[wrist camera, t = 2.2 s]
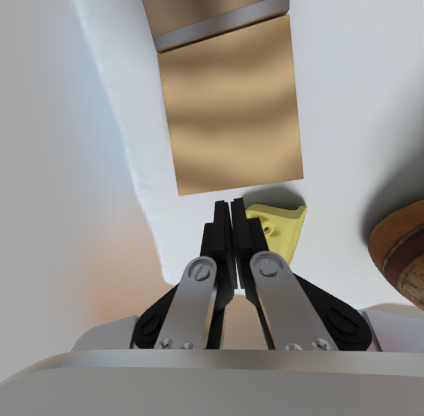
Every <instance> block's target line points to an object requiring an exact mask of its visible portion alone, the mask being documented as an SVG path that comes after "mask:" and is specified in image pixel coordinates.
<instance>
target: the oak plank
mask: <svg viewBox="0 0 424 416" xmlns="http://www.w3.org/2000/svg"><path fill="white" fill-rule="evenodd" d="M157 56H158V62H159V69H160V76H161V82H162V89H163V96H164V102H165V109H166V115H167V122H168V129H169V135H170V142H171V149H172V155H173V162H174V168H175V175H176V182H177V188H178V195H179V196H184V195H191V194H199V193H206V192H213V191H220V190H227V189H234V188H241V187H249V186H256V185H263V184H270V183H277V182H284V181H292V180H299V179H303V178H304V177H303V166H302V154H301V143H300V132H299V121H298V109H297V98H296V87H295V75H294V64H293V53H292V42H291V30H290V19H289V14H288V15H285V16H282V17H279V18H275V19H272V20H269V21H266V22H262V23H259V24H256V25H253V26H250V27H246V28H243V29H240V30H237V31H233V32H230V33H227V34H224V35H221V36H217V37H214V38H211V39H208V40H204V41H201V42H198V43H195V44H192V45H188V46H185V47H182V48H179V49H175V50H172V51H169V52H166V53H163V54H159V55H157Z"/></svg>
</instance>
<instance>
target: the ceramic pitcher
mask: <svg viewBox="0 0 424 416" xmlns="http://www.w3.org/2000/svg"><path fill="white" fill-rule="evenodd" d="M368 251H369V254H370V256H371V258H372V260H373V262H374V264H375V265H376V267H377V268H378V270H379V271H380V272H381V274H382V275H383V276H384V277H385V279H386V280H387V281H388V282H389V283H390V284H391V285H392V286H393V287H394V288H395V289H396V290H397V291H398V292H399V293H400V294H401V295H403V296H404V297H405V298H407V299H408V300H409V301H411V302H412V303H413V304H415V305H416V306H417V307H419V308H420V309H422V310H423V311H424V199H423V200H420V201H417V202H415V203H412V204H410V205H408V206H406V207H404V208H402V209H400V210H398V211H395V212H394V213H392V214H391V215H389V216H387V217H386V218H385V219H383V220H382V221H381V222H380V223H378V224H377V225H376V226H375V227H374V229H373V230H372V232H371V234H370V237H369V243H368Z"/></svg>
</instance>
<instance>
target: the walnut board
mask: <svg viewBox="0 0 424 416" xmlns="http://www.w3.org/2000/svg"><path fill="white" fill-rule="evenodd" d="M142 1H143V5H144V8H145V12H146V15H147V19H148V22H149V26H150V30H151V33H152V37H153V41H154V44H155V48H156V51H157V52H158V53H159V54H163V53H166V52H169V51H172V50H175V49H179V48H182V47H185V46H188V45H192V44H195V43H198V42H201V41H204V40H208V39H211V38H214V37H217V36H221V35H224V34H227V33H230V32H233V31H237V30H240V29H243V28H246V27H250V26H253V25H256V24H259V23H262V22H266V21H269V20H272V19H275V18H279V17H282V16H285V15H286V13H287V12H288V10H289V1H290V0H142Z"/></svg>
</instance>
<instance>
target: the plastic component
mask: <svg viewBox="0 0 424 416" xmlns="http://www.w3.org/2000/svg"><path fill="white" fill-rule="evenodd" d="M306 211H307V207H306V206H299V207H298V208H297V210H286V209H281V208H276V207H271V206H267V205H262V204H253V205H251V206H249V207H248V208H247V209H246V216H247V218H255V217H259V219H260V222H261V225H262V228H263V231H264V234H265V237H266V241H267V244H268V247H269V250H270V251H271V252H274V253H277V254H279V255H280V256H282V257H283V258H284V260H285V261H286V262H287V264H288V266H290V263H291V261H292V258H293V255H294V252H295V249H296V245H297V242H298V239H299V235H300V232H301V228H302V225H303V222H304V218H305V215H306ZM266 227H268V228H267V229H266V230H264V229H265V228H266Z"/></svg>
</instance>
